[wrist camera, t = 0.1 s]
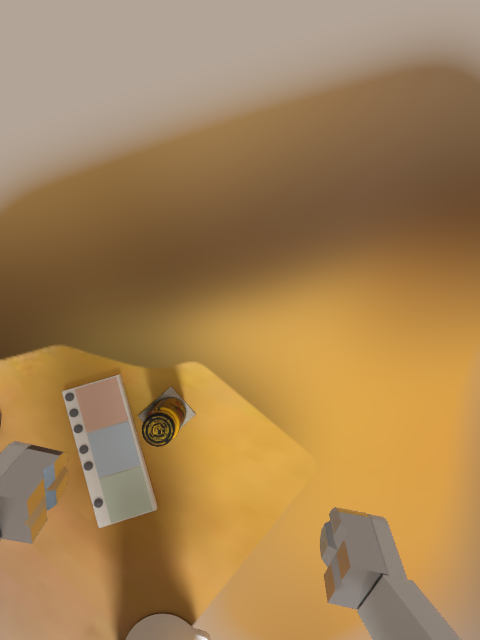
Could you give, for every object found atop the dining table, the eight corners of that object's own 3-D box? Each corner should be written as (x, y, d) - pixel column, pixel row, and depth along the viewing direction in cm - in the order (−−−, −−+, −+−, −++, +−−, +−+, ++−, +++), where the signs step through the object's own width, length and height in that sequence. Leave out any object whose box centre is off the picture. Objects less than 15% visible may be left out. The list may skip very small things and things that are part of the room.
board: (157, 506, 62) (155, 510, 61) (101, 524, 62) (98, 529, 60) (120, 374, 63) (117, 374, 62) (65, 390, 63) (61, 391, 61)
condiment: (196, 414, 63) (188, 432, 51) (163, 443, 63) (147, 469, 51) (171, 386, 64) (157, 397, 52) (138, 415, 63) (116, 434, 51)
